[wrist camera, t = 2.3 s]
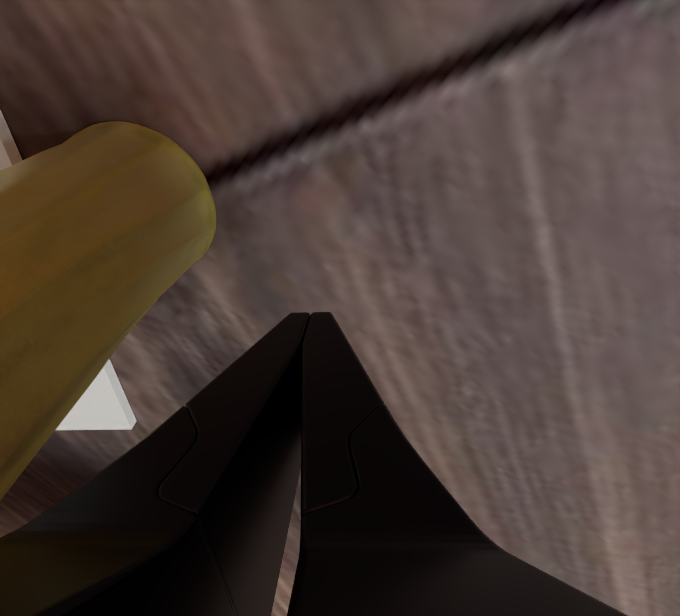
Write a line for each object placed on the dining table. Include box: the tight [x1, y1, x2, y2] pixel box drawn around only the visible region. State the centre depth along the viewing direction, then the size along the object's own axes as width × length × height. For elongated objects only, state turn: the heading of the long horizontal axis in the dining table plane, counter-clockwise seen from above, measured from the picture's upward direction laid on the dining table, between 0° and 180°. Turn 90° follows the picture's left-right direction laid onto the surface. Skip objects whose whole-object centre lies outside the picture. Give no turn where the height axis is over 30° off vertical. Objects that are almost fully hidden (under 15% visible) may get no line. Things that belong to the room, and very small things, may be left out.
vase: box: [0, 121, 216, 501], centre depth 11 cm, size 6×6×14 cm
